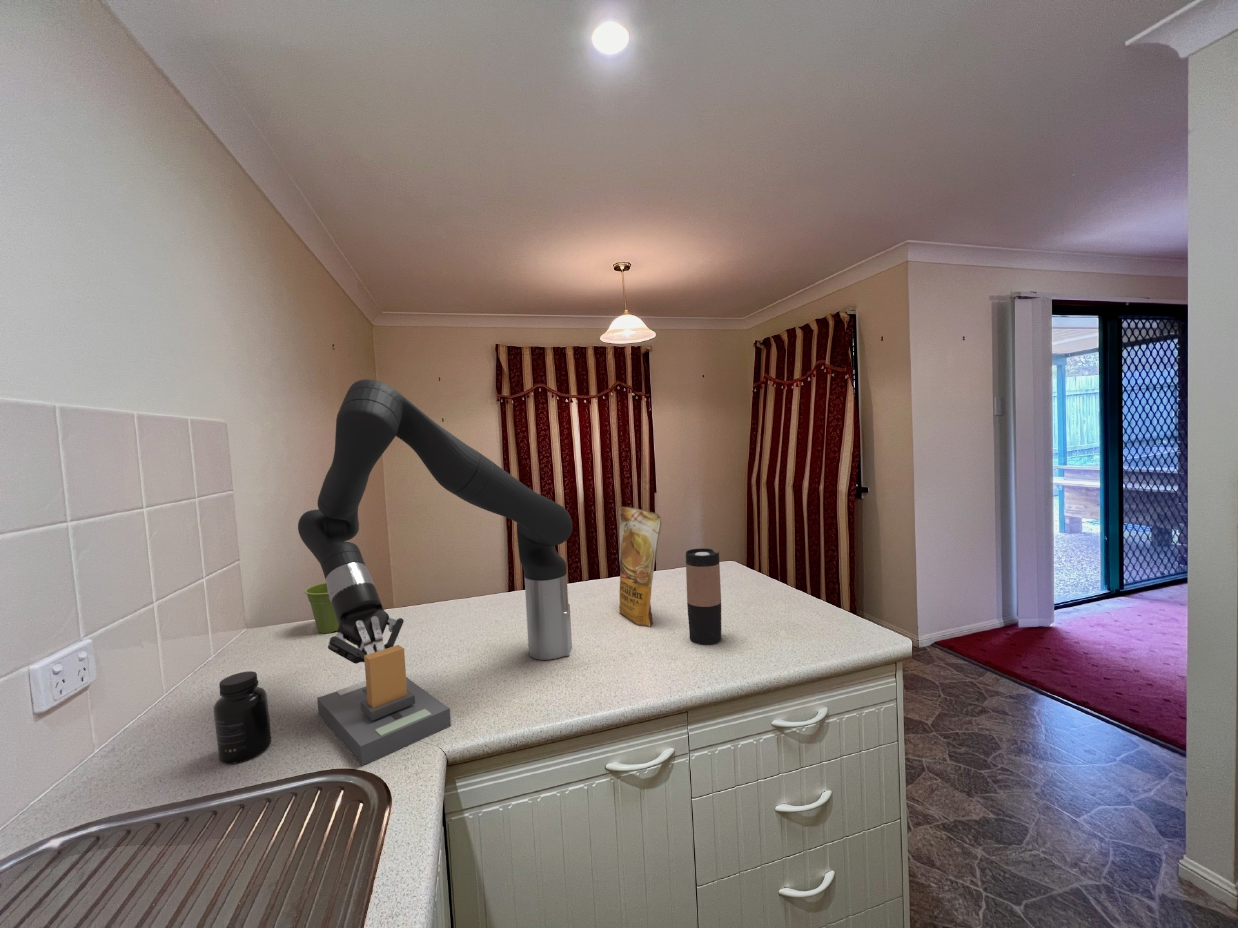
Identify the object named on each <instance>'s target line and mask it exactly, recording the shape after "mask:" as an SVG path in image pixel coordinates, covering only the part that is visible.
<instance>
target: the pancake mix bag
mask: <svg viewBox="0 0 1238 928" xmlns="http://www.w3.org/2000/svg"><path fill="white" fill-rule="evenodd" d="M618 514H619V515H618V518H619V541H618V542H619V553H618V554H619V569H620V570H619V571H620V572H619V574H620V575H619V595H618V596H619V606H618V609H619V613H620V614H621V615H622V616H624V618H626V619H628V620H629V621H631V622H632V623H634V624H636V626H639V627H652V625H653V624H654V622H653V614H652V606H651V604H652V603H651V599H652V586H653V580H654V573H655V571H654V570H655V563H656V560H657V550H658V543H659V537H660V534H661V531H662V530H661V529H662V517H661V516H660V515H659V514H658V513H656V512H652V511H647V510H643V509H640V508H636V507H630V506H621V507H619V508H618Z"/></svg>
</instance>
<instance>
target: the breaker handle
mask: <svg viewBox="0 0 1238 928" xmlns="http://www.w3.org/2000/svg"><path fill="white" fill-rule="evenodd" d="M405 655H406V654H405V648H404V647H402V646H401V645H399V644H397V645H394V646H393V647H390V648H387V649H384V650H380V651H377V652H374V653H371V654H368V655H364V661H365V663H364V671H365V673H364V674H365V681H366V688H367V700H364V701H362V702H360V704H361V711H362V712H363V713H364V714H365V715H367V716H368V717H369V718H370V719H371V720H372V721H373V720H375V719H378V718H380V717H383V716H385V715H388V714H390V713H393V712H395V711H398V710H400V709H403V708H405V707H408V706H410V705H413V704H415V695H413V694H412V693H411V692H409V691H408V690H407V683H406V677H407V672H406V671H407V670H406V658H405V657H406V656H405Z"/></svg>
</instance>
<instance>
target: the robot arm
mask: <svg viewBox="0 0 1238 928" xmlns="http://www.w3.org/2000/svg"><path fill="white" fill-rule="evenodd" d="M334 437H335V438H334V452H333V456H332V462H331V465H330V466H329V468H328V471H327V472H326V475H325V476H324V477H325V478H324V480H323V483H322V485H321V488H320V492H319V495H318V498H317V508H318V509H311V510H308V511H306V512H303V514H302V515H301V516H300V518H299V519H298V523H297V530H298V534H299V537H300V539H301V540H302V542H303V544H304V545H305V547H306V548H307V549H308V550H309V551H310V552H311V553H312V555H313V556H314V558H315V559H316V560H317V562H318V563H319V564H320V567H321V569H322V570H321V571H322V574H323V575H324V578H325V583H327V590H328V594H329V599H330V601H331V603H332V606H333V609H334V612H335V616H336V619H337V622H338V625H339V627H338V631H336V632H337V633H336V634H335V635H334V636H332V637H330V638H329V642H328V645H327V649H328V650H329V651H332V652H333V653H334V654H336V655H339V656H340V657H341V658H344V659H345V660H348V661H349V662H351V663H353V664H355V665H358V664H359V663H363V664H365V661H364V655H368V654H371V653H374V652H377V651H380V650H384V649H387V648H390V647H393V646H395V643H396V641H397V638H398V636H399V634H400V631H401V629H402V627H403V624H404V622H405V621H404V619H403V618H401V617H399V618H397V619H394V618H391V617H390V616H389V614H388V613H387V612H386V611H385V610H384V607H383V604H382V602H381V598H380V596H379V593H378V591H377V588H376V586H375V583H374V580H373V577H372V575H371V573H370V572H369V570H368V568H367V567H366V563H365V561H364V557H363V556H362V553H361V550H360V548H359V546H358V545H357V544H356V543H354V542H350V540H352V539H353V538H355V537H356V536H357V534H358V533H359V531H360V522H359V506H360V503H361V501H362V498H363V495H364V494H365V492H366V488H367V485H368V482H369V477H370V474H371V473H372V471H373V468H374V467H375V465H376V464H377V462H378V461H379V459H380V458H381V457H382V456H383V454H384V453H385V451H386V450H387V449H388V448H389V447H390V445H391V444H392V442H393V440H394V439H395V438H396V437H397V438H398V439H400V440H401V441H402V442H403V443H405V444H406V445H407V446H408V447H410V449H412V450H413V451H414V452H415V453H416V455H417V456H418V457H419V458H420V460H421V461H422V463H423V465H424V466H425V468H426V469H427V470H428V471H429V473H430V474H431V476H432V477H433V478H434V480H435V481H437V483H438V484H439V485H440V486H441V487H443V488H444V489H445V490H446V491H448V492H450V493H451V494H453V495H455V496H456V497H458V498H460V500H463V501H464V502H466V503H468V504H471V505H472V506H475V507H478V508H480V509H481V510H482V509H483V510H484V511H487V512H490V513H493V514H495V515H498V516H502V517H504V518H508V519H509V520H511V521H513V522H515V523H516V537H517V547H518V557H519V562H520V564H521V567H522V569H523V574H524V575H523V576H524V586H525V587H524V590H525V591H524V592H525V609H526V610H525V613H526V629H527V646H528V648H527V649H528V655H529V657H531V658H532V659H535V660H540V661H544V660H546V661H548V660H549V661H550V660H555V659H559V658H563V657H569V656H570V653H571V650H572V646H573V642H572V641H573V639H572V636H573V635H572V621H571V604H569V595H568V594H569V592H568V590H569V589H568V571H567V563H566V561H565V559H564V558H563V557H562V556H561V555H560V553H558V551H557V550H556V548H555V546H558V545H559V546H560V545H562V544H563V543H565V542H566V541H567V540H568V539H570V536H571V535H572V532H573V520H572V517H571V515H570V513H569V512H568V510H567V509H566V508H565V507H564V506H562V505H561V504H559V503H557V502H555V501H554V500H552V499H549V498H548V497H546V496H543V495H541V494H539V493H537V492H535V491H534V490H533V489H531V488H529V487H528V486H527V485H525V484H523V483H522V482H521V481H520V480H519V479H517V478H516V477H515V476H513V475H512V474H510V473H509V472H507V471H506V470H504V469H503V468H501V467H500V466H499V465H498V464H496V463H495V462H493V460H491V459H489V458H488V457H487V456H485V455H483V453H480V452H479V451H478V450H476V449H475V448H473V447H471V446H470V445H468V444H466V443H465V442H464V441H462V440H461V439H460V438H458V437H457V436H455V435H454V434H452V433H451V432H449V431H448V430H447V429H445V428H444V427H443V426H441V425H440V424H438V423H436V422H435V421H434V420H433V419H432V418H430V417H429V416H428V415H427V414H425V412H423V411H422V410H421V409H420V408H418V406H416V405H415V404H413V403H412V401H410V400H409V399H408V398H406V396H404V395H403V394H401V392H399V391H398V390H397V389H395V388H394V387H392V386H390V385H388V384H386V383H385V382H382V381H378V380H375V379H369V378H367V379H361V380H357V381H355V382H354V383H353V384H351V385H350V387H349V388H348V390H347V392H346V394H345V396H344V398H343V401H342V403H341V406H340V408H339V410H338V412H337V414H336V420H335V436H334ZM386 627H388V631H389V632H390V634H389V635H390V636H389V638H388V640H387V642H386V643H385V644H384V637H383V634H384V632H385V631H386V629H387V628H386ZM346 641H348V642H349V643H348V642H346ZM350 643H351V644H350ZM352 644H353V645H352ZM355 646H356V647H355Z"/></svg>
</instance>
